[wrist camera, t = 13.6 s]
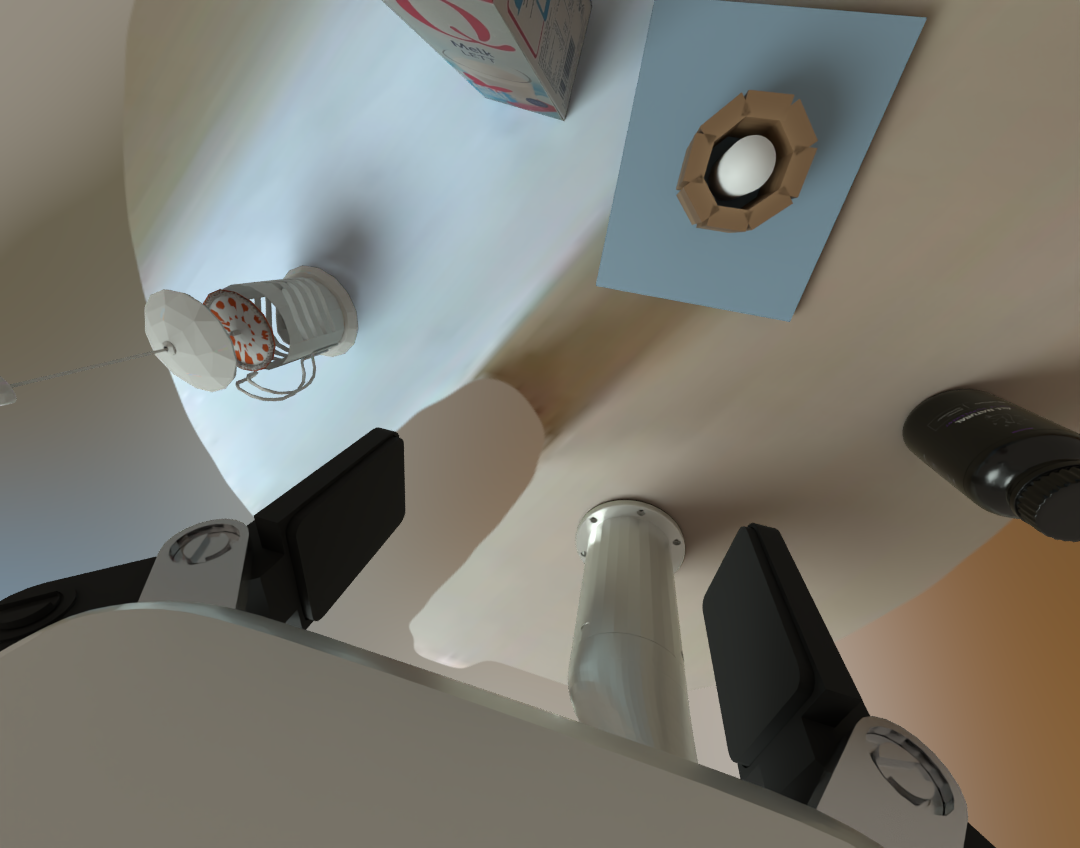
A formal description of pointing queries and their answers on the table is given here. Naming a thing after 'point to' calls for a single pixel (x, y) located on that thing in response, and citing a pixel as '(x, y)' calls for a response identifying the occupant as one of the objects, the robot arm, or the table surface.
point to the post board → (702, 88)
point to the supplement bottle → (1001, 458)
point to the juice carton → (506, 45)
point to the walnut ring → (740, 120)
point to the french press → (242, 330)
